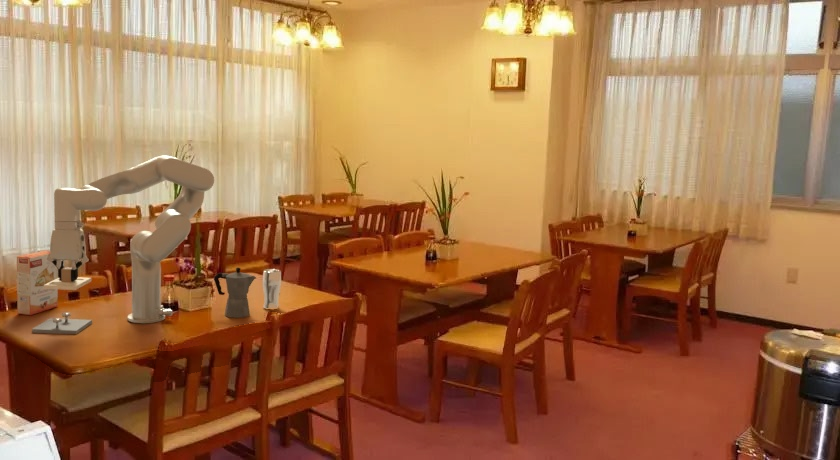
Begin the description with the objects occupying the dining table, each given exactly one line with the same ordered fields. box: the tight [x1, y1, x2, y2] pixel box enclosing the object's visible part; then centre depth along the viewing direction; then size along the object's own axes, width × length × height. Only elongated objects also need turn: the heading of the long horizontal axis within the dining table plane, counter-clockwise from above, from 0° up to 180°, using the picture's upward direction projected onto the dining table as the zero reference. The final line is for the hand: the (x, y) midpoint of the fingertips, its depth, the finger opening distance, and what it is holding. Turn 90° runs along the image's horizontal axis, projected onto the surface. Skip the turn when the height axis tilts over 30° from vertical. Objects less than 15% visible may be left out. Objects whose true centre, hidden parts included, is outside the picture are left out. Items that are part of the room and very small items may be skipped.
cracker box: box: [16, 250, 59, 316], centre depth 255 cm, size 14×6×21 cm, turn 168°
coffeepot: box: [213, 267, 257, 319], centre depth 263 cm, size 15×9×18 cm, turn 92°
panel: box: [44, 266, 92, 291], centre depth 235 cm, size 10×13×6 cm
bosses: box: [53, 312, 72, 328], centre depth 237 cm, size 3×10×3 cm, turn 4°
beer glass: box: [262, 268, 282, 308], centre depth 275 cm, size 7×7×15 cm
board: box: [31, 317, 93, 335], centre depth 237 cm, size 14×13×1 cm
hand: (68, 279), depth 235 cm, fingers closed on panel, 3 cm apart
